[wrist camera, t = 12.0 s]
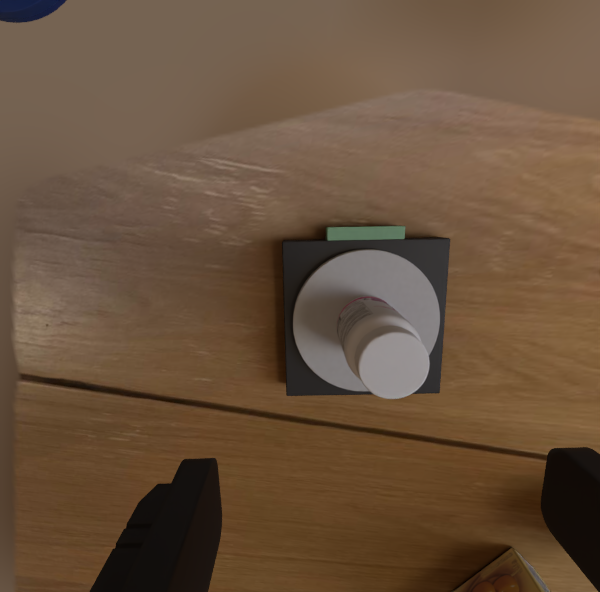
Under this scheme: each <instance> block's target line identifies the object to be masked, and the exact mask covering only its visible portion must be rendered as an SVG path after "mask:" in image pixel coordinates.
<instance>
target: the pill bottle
mask: <svg viewBox="0 0 600 592" xmlns="http://www.w3.org/2000/svg"><path fill="white" fill-rule="evenodd" d="M337 334H338V338H339V340H340V343H341V346H342V349H343V352H344V355H345V358H346V361H347V363H348V366H349V367H350V369H351V371H352V372H353V373H354V374H355V376H356V377H357V378H359V379H360V380H361V381H362V383H363V385H364V386H365V387H366V388H367V389H368V390H369V391H370V392H372V393H373V394H375V395H377V396H379V397H382V398H386V399H398V398H403V397H406V396H408V395H410V394H412V393H414V392H415V391H416V390H417V389H419V387H420V386H421V385H422V384H423V383H424V381H425V380H426V378H427V375H428V372H429V364H430V363H429V356H428V353H427V350H426V348H425V347H424V345H423V344H422V342H421V339H420V336H419V334H418V332H417V331H416V329H415V328H414V326H413V325H412V324H411V323H410V322H409V321H407V320H406V319H405V318H404V317H403V316H402V315H401V314H400V313H399V312H397V311H396V310H395V309H394V308H393V307H392V306H390V305H389V304H388V303H387V302H385V301H384V300H382V299H380V298H377V297H373V296H363V297H359V298H356V299H354V300H352V301H350V302H349V303H348V304H346V305H345V306H344V308H343V309H342V310H341V312H340V314H339V316H338V319H337Z"/></svg>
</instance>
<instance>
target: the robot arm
mask: <svg viewBox="0 0 600 592" xmlns="http://www.w3.org/2000/svg"><path fill="white" fill-rule="evenodd" d="M541 511H542V515H543V518H544V520H545V523H546V525H547V527H548V529H549V530H550V532H551V533H552V535H553V536H554V537H555V538H556V540H557V541H558V542H559V543H560V545H561V546H562V547H563V548H564V549H565V551H566V552H567V553H568V554H569V556H570V557H571V558H572V559H573V561H574V562H575V563H576V564H577V566H578V567H579V568H580V569H581V571H582V572H583V573H584V574H585V575H586V577H587V578H588V579H589V580H590V582H591V583H592V584H593V585H594V587H595V588H596V589H597V590H598V592H600V454H598V453H597V452H596V451H594V450H593V449H590V448H587V447H580V448H554V449H552V450H550V451H549V453H548V456H547V462H546V469H545V476H544V483H543V490H542V496H541ZM221 528H222V507H221V496H220V486H219V475H218V465H217V461H216V459H215V458H205V459H184V460H183V461H182V462H181V464H180V466H179V468H178V470H177V472H176V474H175V477H174V479H173V481H172V483H171V484H157V485H156V486H155V487H154V488H153V489H152V490H151V491H150V492H149V493H148V494H147V495H146V496H145V497H144V498H143V499H142V500H141V501H140V502H139V503H138V505H137V507H136V509H135V510H134V512H133V514H132V516H131V518H130V519H129V521H128V523H127V527H126V529H124V530H123V532H122V534H121V536H120V537H119V539H118V541H117V543H116V548H115V549H113V550H112V552H111V554H110V556H109V557H108V559H107V561H106V563H105V565H104V566H103V568H102V570H101V572H100V574H99V576H98V577H97V579H96V581H95V583H94V585H93V586H92V588H91V590H90V592H208V589H209V585H210V580H211V576H212V572H213V568H214V564H215V559H216V555H217V551H218V547H219V542H220V536H221Z"/></svg>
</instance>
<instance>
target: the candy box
mask: <svg viewBox="0 0 600 592" xmlns="http://www.w3.org/2000/svg"><path fill="white" fill-rule="evenodd" d="M452 592H551V591H550V590H549V588H548V587H547V585H546V584H545V582H544V581H543V580H542V578H541V577H540V575H539V574H538V572H537V571H536V570H535V568H534V567H532V566H531V565H530V564H529V563H528V562H527V561H526V560H525V559H524V558H523V557H522V556H521V555H520V554H519V553H518V552H517V551H516V550H515V549H513V548H510V549H509V550H508V551H507V552H505V553H504V554H503V555H501V556H500V557H499V558H497V559H496V560H495V561H493V562H492V563H491V564H489V565H488V566H486V567H485V568H484V569H483V570H481V571H480V572H479V573H477V574H476V575H475V576H473V577H472V578H471V579H469V580H468V581H467V582H465V583H464V584H463V585H461V586H460V587H459V588H457V589H456V590H453V591H452Z"/></svg>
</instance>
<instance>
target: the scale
mask: <svg viewBox="0 0 600 592" xmlns="http://www.w3.org/2000/svg"><path fill="white" fill-rule="evenodd" d="M449 247H450V239H449V238H441V237H424V238H405V226H360V227H326V239H319V240H284V241H283V242H282V254H283V288H284V323H285V357H286V392H287V396H303V395H361V394H373V393H372V392H370V391H369V390H368V389H367V388H366V387H365V386H364V385H363V383H362V381H361V380H360V379H359V378H357V377H356V376H355V374H354V373H353V372H352V371H351V369H350V367H349V366H348V363H347V361H346V358H345V355H344V352H343V349H342V346H341V343H340V340H339V338H338V334H337V319H338V316H339V314H340V312H341V310H342V309H343V308H344V306H345V305H346V304H348V303H349V302H350V301H352V300H354V299H356V298H359V297H363V296H373V297H377V298H380V299H382V300H384V301H385V302H387V303H388V304H389V305H390V306H392V307H393V308H394V309H395V310H396V311H397V312H399V313H400V314H401V315H402V316H403V317H404V318H405V319H406V320H407V321H409V322H410V323H411V324H412V325H413V326H414V328H415V329H416V331H417V332H418V334H419V336H420V339H421V342H422V344H423V345H424V347H425V348H426V350H427V353H428V356H429V363H430V364H429V372H428V375H427V378H426V380H425V381H424V383H423V384H422V385H421V386H420V387H419V389H417V390H416V391H415V392H414V393H412V394H419V393H439V392H440V378H441V364H442V349H443V334H444V320H445V305H446V291H447V276H448V261H449Z"/></svg>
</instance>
